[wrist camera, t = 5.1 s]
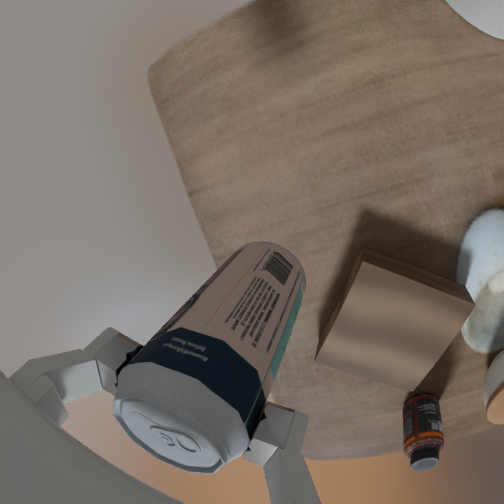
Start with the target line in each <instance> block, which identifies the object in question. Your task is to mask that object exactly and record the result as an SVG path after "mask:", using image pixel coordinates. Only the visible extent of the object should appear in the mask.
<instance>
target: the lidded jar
mask: <svg viewBox="0 0 504 504" xmlns="http://www.w3.org/2000/svg"><path fill="white" fill-rule="evenodd" d="M483 397H484V403H485V408H486V416H487V419H488V420H489V421H490V422H492V423H494V424H504V350H503V351H501V352H500V353H499V354H498V355H497V356H496V357H495V358H494V359H493V361H492V363H491V365H490V367H489V369H488V371H487V373H486V376H485V379H484V385H483Z"/></svg>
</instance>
